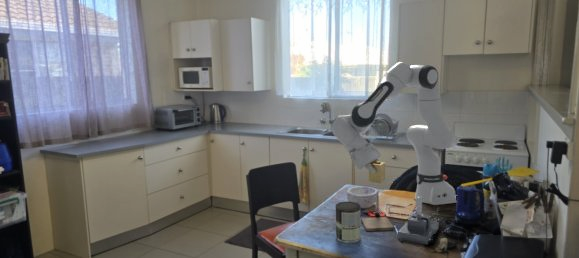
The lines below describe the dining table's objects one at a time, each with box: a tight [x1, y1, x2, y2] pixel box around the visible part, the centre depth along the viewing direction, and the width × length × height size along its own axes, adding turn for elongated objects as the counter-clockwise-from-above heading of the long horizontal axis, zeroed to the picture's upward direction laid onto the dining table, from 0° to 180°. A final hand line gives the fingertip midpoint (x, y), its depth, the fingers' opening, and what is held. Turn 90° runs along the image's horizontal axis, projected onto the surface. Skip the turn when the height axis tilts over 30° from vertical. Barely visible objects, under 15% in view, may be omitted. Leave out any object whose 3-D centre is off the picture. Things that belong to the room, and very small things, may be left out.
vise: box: [397, 196, 440, 246], centre depth 172 cm, size 18×12×16 cm, turn 147°
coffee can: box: [335, 201, 362, 244], centre depth 170 cm, size 10×10×14 cm
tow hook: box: [367, 190, 387, 218], centre depth 195 cm, size 8×13×9 cm
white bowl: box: [346, 186, 378, 209], centre depth 209 cm, size 15×15×8 cm
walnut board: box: [360, 216, 395, 232], centre depth 184 cm, size 12×12×1 cm
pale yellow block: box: [368, 161, 386, 184], centre depth 180 cm, size 5×5×8 cm
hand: (378, 170), depth 180 cm, fingers closed on pale yellow block, 5 cm apart
